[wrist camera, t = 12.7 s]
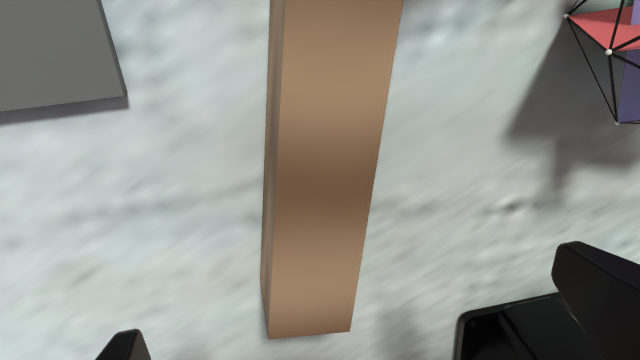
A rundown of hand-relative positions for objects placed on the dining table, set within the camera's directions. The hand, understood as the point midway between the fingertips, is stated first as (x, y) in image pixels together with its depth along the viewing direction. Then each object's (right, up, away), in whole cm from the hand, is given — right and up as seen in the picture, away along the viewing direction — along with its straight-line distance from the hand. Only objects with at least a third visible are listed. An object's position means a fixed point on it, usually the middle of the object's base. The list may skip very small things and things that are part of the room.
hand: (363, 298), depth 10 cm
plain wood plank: (-1, +4, +7) cm, 8 cm away
